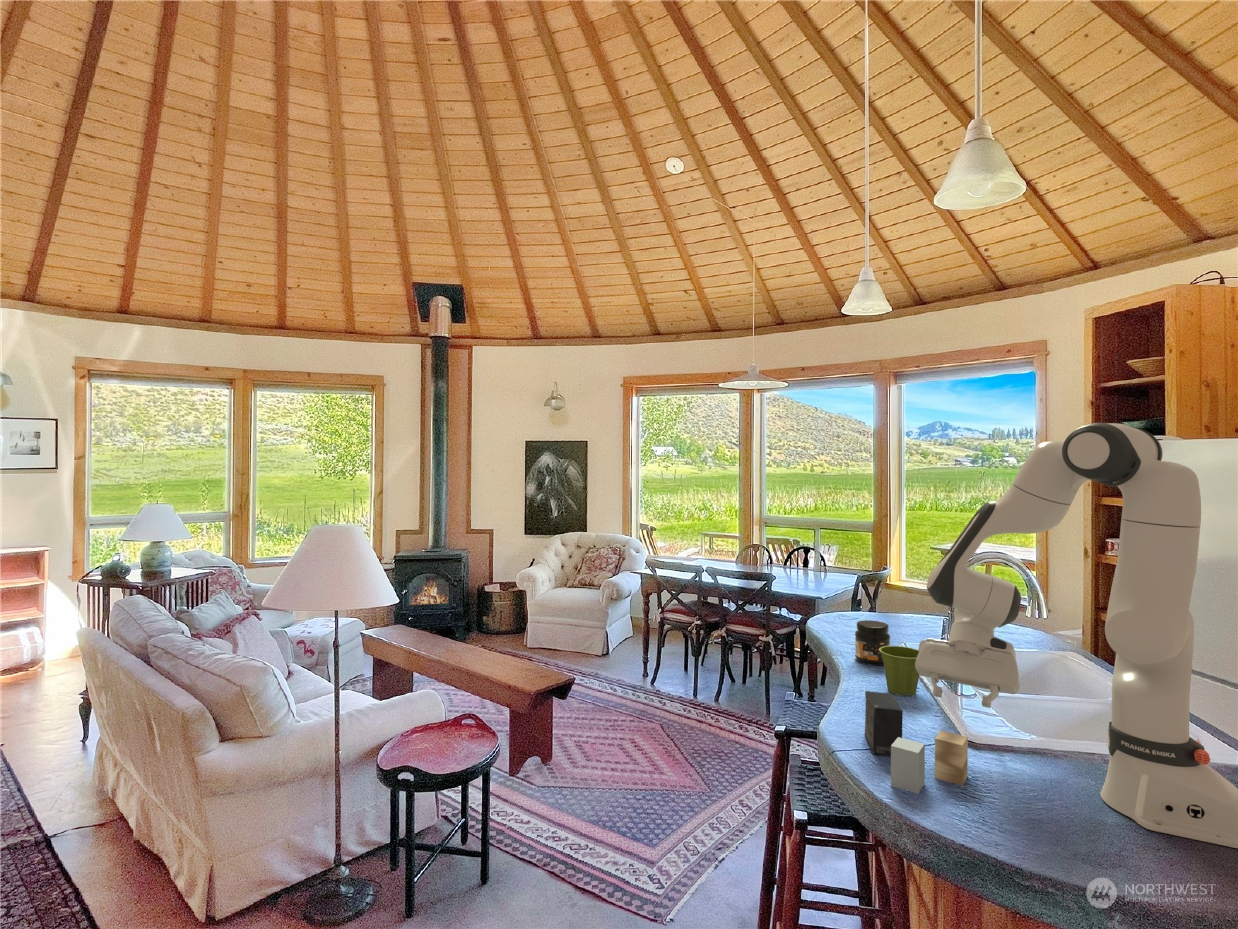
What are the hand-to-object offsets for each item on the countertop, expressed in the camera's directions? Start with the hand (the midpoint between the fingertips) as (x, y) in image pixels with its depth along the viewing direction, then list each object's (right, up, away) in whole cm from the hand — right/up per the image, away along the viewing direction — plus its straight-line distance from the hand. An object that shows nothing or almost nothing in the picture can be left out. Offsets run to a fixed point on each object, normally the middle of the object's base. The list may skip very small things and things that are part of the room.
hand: (961, 700), depth 137 cm
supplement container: (+8, -12, +67) cm, 69 cm away
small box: (-14, -13, +6) cm, 20 cm away
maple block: (-6, -13, -8) cm, 16 cm away
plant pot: (+5, -13, +40) cm, 42 cm away
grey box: (-16, -13, -11) cm, 23 cm away
